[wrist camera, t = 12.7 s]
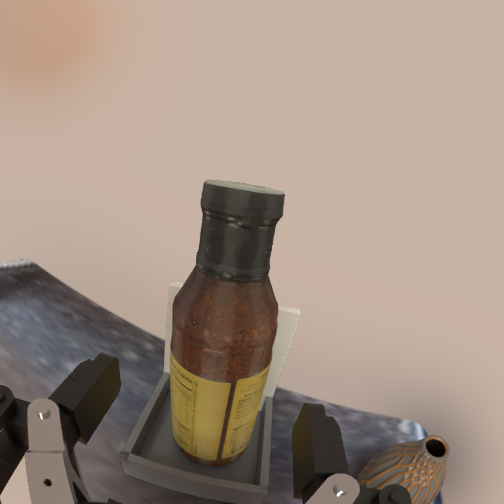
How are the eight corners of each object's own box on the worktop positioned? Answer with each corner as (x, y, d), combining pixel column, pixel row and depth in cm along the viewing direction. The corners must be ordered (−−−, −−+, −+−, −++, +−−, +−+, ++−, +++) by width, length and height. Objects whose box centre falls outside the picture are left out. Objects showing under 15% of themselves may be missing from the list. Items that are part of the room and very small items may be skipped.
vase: (416, 490, 15) (475, 430, 12) (391, 545, 9) (467, 496, 7) (359, 465, 19) (407, 402, 16) (323, 516, 13) (380, 463, 11)
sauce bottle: (238, 414, 23) (292, 190, 18) (254, 468, 17) (343, 207, 12) (166, 412, 21) (188, 172, 16) (169, 470, 15) (190, 178, 10)
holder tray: (124, 473, 14) (99, 362, 11) (165, 388, 25) (173, 281, 22) (258, 506, 14) (315, 416, 11) (265, 411, 25) (299, 309, 22)
